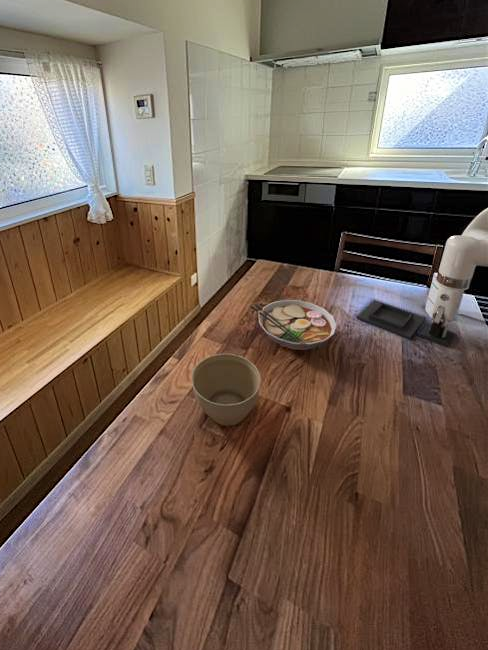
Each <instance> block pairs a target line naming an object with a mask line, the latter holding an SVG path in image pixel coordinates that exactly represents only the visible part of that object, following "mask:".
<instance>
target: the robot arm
mask: <svg viewBox="0 0 488 650" xmlns="http://www.w3.org/2000/svg"><path fill="white" fill-rule="evenodd" d="M443 249H444V250H443V253H442V257H441V261H440V265H439V268H438V272H437V273H438V275H437V278H436V282H437V284H439V288H438V291H437V294H436V298H435V301H434V305H433V309H432V316H434V319H432V320H433V322H432V321H431V324H430V325H431V328H430V331H429V334H430V335H433V336H435V337H438V338H442V336H443V332H444V329H445V327H444V325H445V322H446V320H447V321H448V322H449V323H450V322H452V321H453V320H454V319H455V317H456V315H457V314H458V312H459V311H460V309H461V304H462V300H463V296H464V292H465V291H466V290H469V288H470V285H471V282H472V279H473V276H474V274H475V269H476V267H477V266H479V267H486V268H487V267H488V207H487V208H485V209H483V210H482V211H481V212H480V213H479V214H478V215H476V216H475V217H474V218H473V219H472V221H470V223H469V224H468V225H467V227H466V228H465V229H464V231H463V232H462V234H461V235H452V236H450V237H449V238H447V240H446V242H445V245H444V248H443ZM441 319H442V320H443V322H442V321H441Z"/></svg>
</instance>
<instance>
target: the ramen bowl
mask: <svg viewBox="0 0 488 650" xmlns="http://www.w3.org/2000/svg"><path fill="white" fill-rule="evenodd" d="M250 309H252V310H253V311H255V312H256V313H257V314H258V323H259V325H260V327H261V328H262V331H264V333H265V334H266V335H267V336H268V338H269V339H270V340H272V341H273V342H274V343H276V344H278V345H280V346H281V347H284V348H288V349H292V350H300V351H301V350H302V351H306V350H308V351H310V350H312V349H315V348H318V347H320V346H321V345H322V344H325V342H327V340H329V339H331V338H332V337H333V336H334V335H335V331H336V328H337V322H336V321H335V319H334V316H333V315H332V314H331V313H330V312H328V311H327V309H325V308H324V307H321V306H319V305H316V304H314V303H312V302H308V301H304V300H299V299H283V300H277V301H274V302H271V303H269V304H267V305H265V306H263V307H262V306H260V305H259V304H258V303H255V304H254V305H252V304H251V305H250Z"/></svg>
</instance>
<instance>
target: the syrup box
mask: <svg viewBox="0 0 488 650" xmlns="http://www.w3.org/2000/svg"><path fill="white" fill-rule="evenodd" d="M437 275H438V272H434V273H433V277H432V281H431V285H430V288H429V293H428V296H427V301H426V304H425V309H424V310H425V312H426V313H427V315H428V316H429V317H430V318H431V319H432V320H433V318H434V316H432V309H433V305H434V301H435V298H436V294H437V291H438V288H439V284H437V282H436V278H437Z"/></svg>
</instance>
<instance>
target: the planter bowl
mask: <svg viewBox="0 0 488 650" xmlns="http://www.w3.org/2000/svg"><path fill="white" fill-rule="evenodd" d="M190 379H191V381H190V382H191V387H192V389H193V393H194V397H195V399H196V401H197V403H198V405H199V407H200V408H201V409H202V411H203V412H204V413H205V414H206V415H207V416H208V417H210V418H211V420H212V421H213V422H215V423H216V424H219V425H221V426H225V427H229V426H235V425H237V424H239V423H241V422H242V421H243V420H244V419H245V417H247V416H248V415H249V414H250V412H251V411H252V410H253V408H254V407H255V405H256V403H257V401H258V398H259V394H260V388H261V383H262V382H261V380H262V379H261V374H260V372H259V370H258V367H257V366H256V365H255V364H254V363H253V362H252V361H251V360H249V359H248V358H245V357H243V356H241V355H239V354H238V355H237V354H235V353H234V354H232V353H217V354H213V355H210V356H207V357H206V358H203V359H202V360H201V361H199V362H198V363H197V364H196V366H194V369H193V371H192V373H191V378H190Z"/></svg>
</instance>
